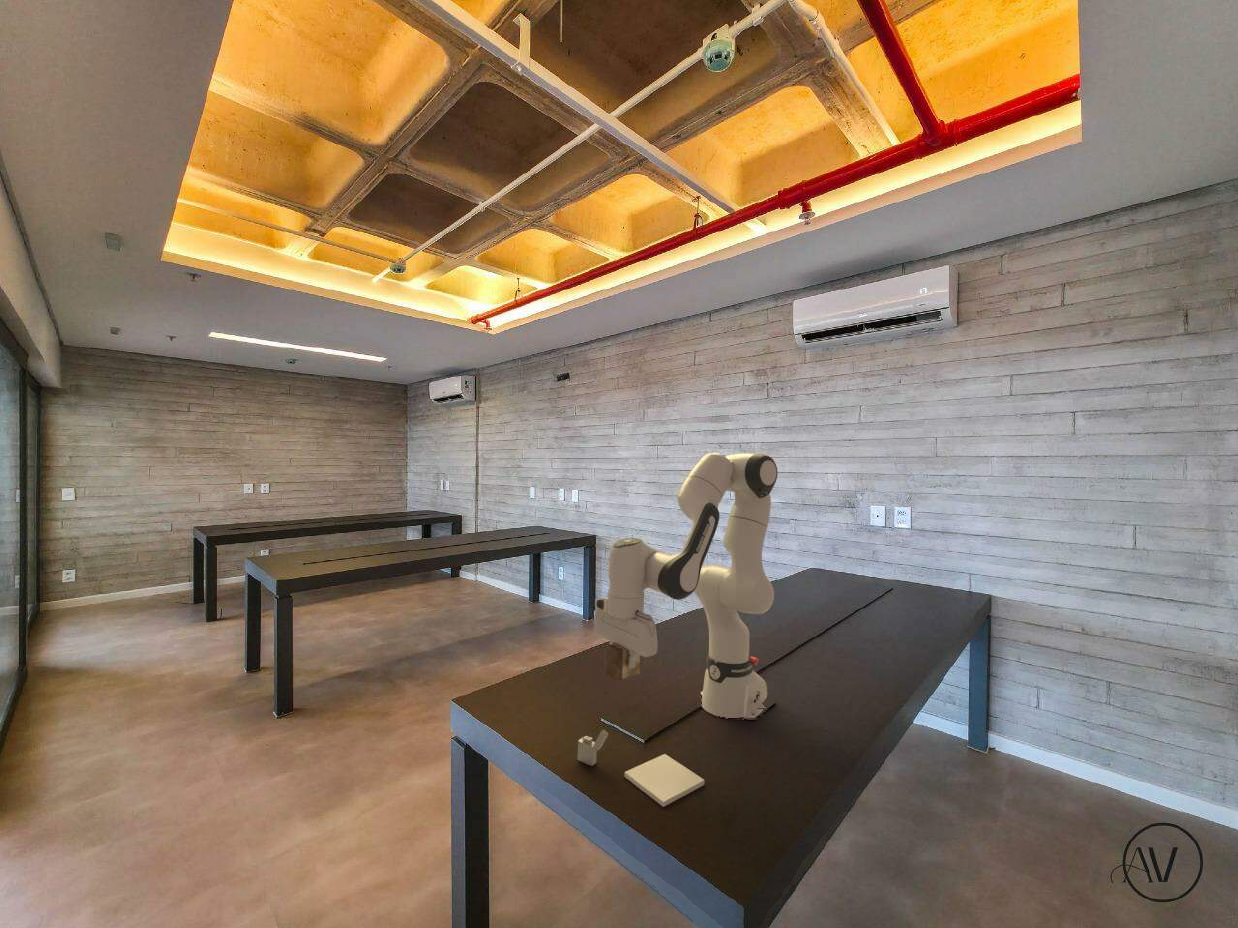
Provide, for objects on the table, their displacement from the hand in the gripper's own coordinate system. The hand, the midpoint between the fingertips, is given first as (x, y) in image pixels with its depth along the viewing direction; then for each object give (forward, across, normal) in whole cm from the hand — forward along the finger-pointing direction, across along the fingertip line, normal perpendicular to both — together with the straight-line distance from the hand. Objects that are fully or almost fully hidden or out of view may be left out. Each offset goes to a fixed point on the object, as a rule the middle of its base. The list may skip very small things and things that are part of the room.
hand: (623, 663), depth 123 cm
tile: (+19, -17, +2) cm, 26 cm away
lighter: (+19, -3, +11) cm, 22 cm away
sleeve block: (+3, 0, 0) cm, 3 cm away
